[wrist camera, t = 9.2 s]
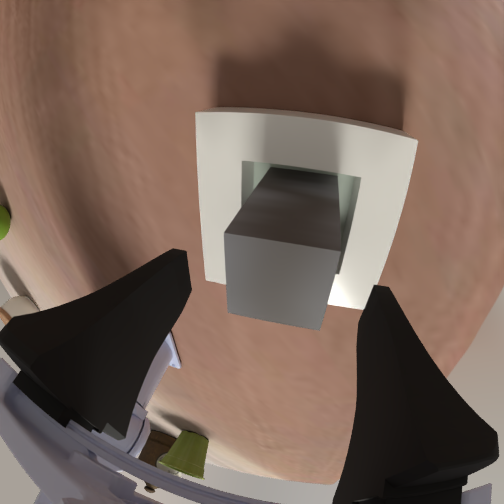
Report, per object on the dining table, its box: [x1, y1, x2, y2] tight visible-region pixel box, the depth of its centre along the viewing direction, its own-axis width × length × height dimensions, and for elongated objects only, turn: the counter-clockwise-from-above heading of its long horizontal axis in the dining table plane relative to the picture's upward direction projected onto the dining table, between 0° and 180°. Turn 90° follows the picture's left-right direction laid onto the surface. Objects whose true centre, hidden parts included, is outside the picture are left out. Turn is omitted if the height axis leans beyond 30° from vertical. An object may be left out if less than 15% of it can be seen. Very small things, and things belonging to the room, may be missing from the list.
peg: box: [224, 167, 341, 331], centre depth 13 cm, size 4×4×8 cm
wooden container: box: [138, 430, 182, 493], centre depth 62 cm, size 15×15×22 cm
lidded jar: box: [0, 296, 39, 325], centre depth 40 cm, size 11×11×9 cm
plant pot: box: [158, 431, 209, 480], centre depth 52 cm, size 12×12×11 cm
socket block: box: [196, 107, 418, 310], centre depth 16 cm, size 11×11×3 cm
